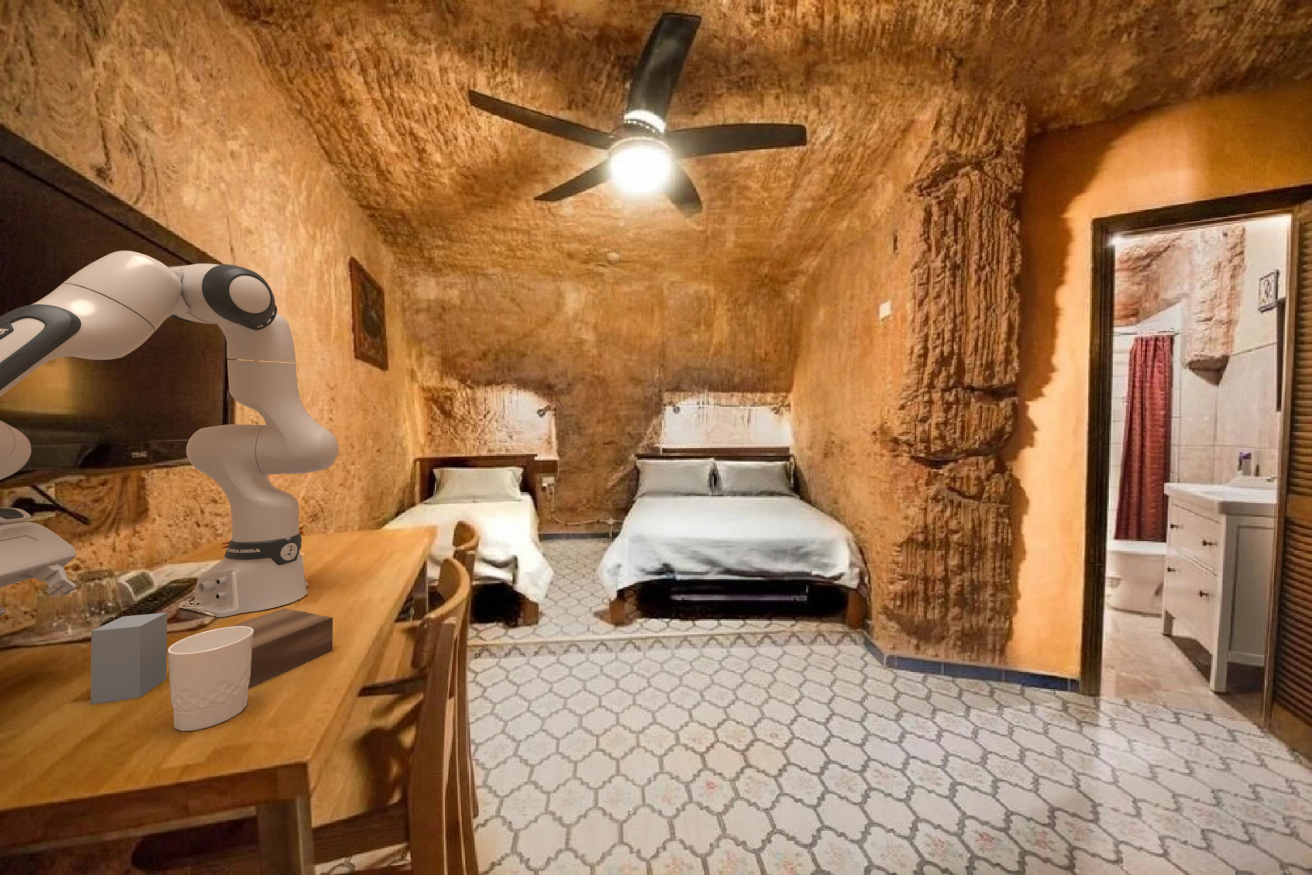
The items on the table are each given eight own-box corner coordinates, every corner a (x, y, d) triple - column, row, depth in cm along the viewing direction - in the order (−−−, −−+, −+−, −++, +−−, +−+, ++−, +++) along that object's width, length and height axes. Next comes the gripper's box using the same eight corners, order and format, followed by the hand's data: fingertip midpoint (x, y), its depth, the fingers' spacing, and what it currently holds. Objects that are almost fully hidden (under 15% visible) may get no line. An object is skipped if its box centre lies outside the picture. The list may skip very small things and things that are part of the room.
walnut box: (196, 676, 67) (197, 637, 67) (284, 641, 78) (284, 608, 78) (248, 691, 63) (248, 649, 63) (332, 652, 74) (332, 617, 74)
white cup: (218, 694, 61) (219, 624, 61) (269, 698, 61) (269, 627, 61) (148, 732, 54) (148, 651, 54) (204, 737, 53) (205, 655, 53)
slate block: (90, 704, 59) (91, 630, 59) (121, 684, 64) (122, 616, 64) (139, 697, 61) (140, 626, 61) (166, 678, 65) (167, 612, 65)
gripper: (-164, 536, 47) (-33, 616, 50) (34, 507, 66) (119, 565, 69) (-230, 581, 45) (-92, 660, 49) (-8, 538, 65) (81, 596, 68)
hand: (34, 604), depth 59 cm, fingers open, 8 cm apart
